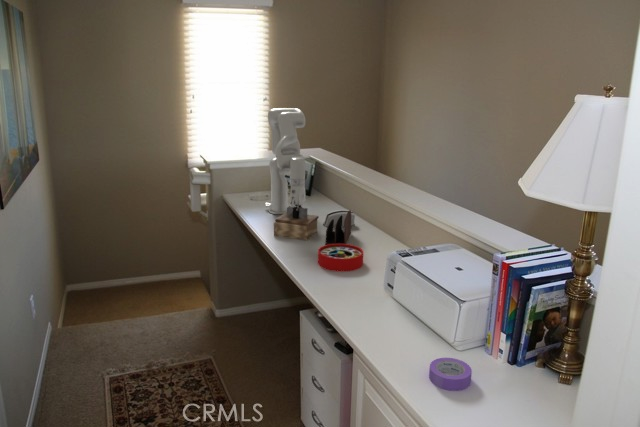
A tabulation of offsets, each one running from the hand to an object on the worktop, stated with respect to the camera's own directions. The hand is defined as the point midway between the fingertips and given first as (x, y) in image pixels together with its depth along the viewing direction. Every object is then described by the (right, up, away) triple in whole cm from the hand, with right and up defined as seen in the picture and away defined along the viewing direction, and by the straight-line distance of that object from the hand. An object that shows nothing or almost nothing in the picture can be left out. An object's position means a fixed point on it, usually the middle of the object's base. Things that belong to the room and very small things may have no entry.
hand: (297, 216), depth 284 cm
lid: (0, -1, 0) cm, 2 cm away
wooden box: (-1, -9, +1) cm, 9 cm away
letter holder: (+21, -12, -6) cm, 25 cm away
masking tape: (+49, -46, -124) cm, 141 cm away
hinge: (+22, -5, +17) cm, 28 cm away
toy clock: (+21, -21, -37) cm, 47 cm away
